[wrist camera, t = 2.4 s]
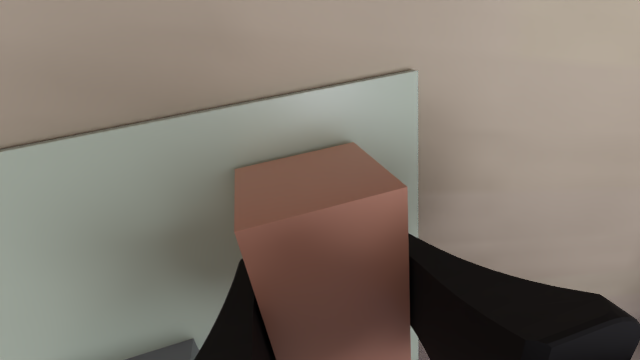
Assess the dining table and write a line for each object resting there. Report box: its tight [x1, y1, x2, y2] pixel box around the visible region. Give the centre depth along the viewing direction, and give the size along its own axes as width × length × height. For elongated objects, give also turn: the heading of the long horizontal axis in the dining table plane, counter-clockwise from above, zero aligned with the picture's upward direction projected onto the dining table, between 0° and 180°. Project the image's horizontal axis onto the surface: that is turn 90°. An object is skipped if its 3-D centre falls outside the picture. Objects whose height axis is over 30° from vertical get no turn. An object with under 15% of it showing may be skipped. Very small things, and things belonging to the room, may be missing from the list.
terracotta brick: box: [234, 142, 411, 360], centre depth 11 cm, size 8×4×4 cm, turn 8°
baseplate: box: [0, 70, 418, 360], centre depth 14 cm, size 22×20×1 cm
